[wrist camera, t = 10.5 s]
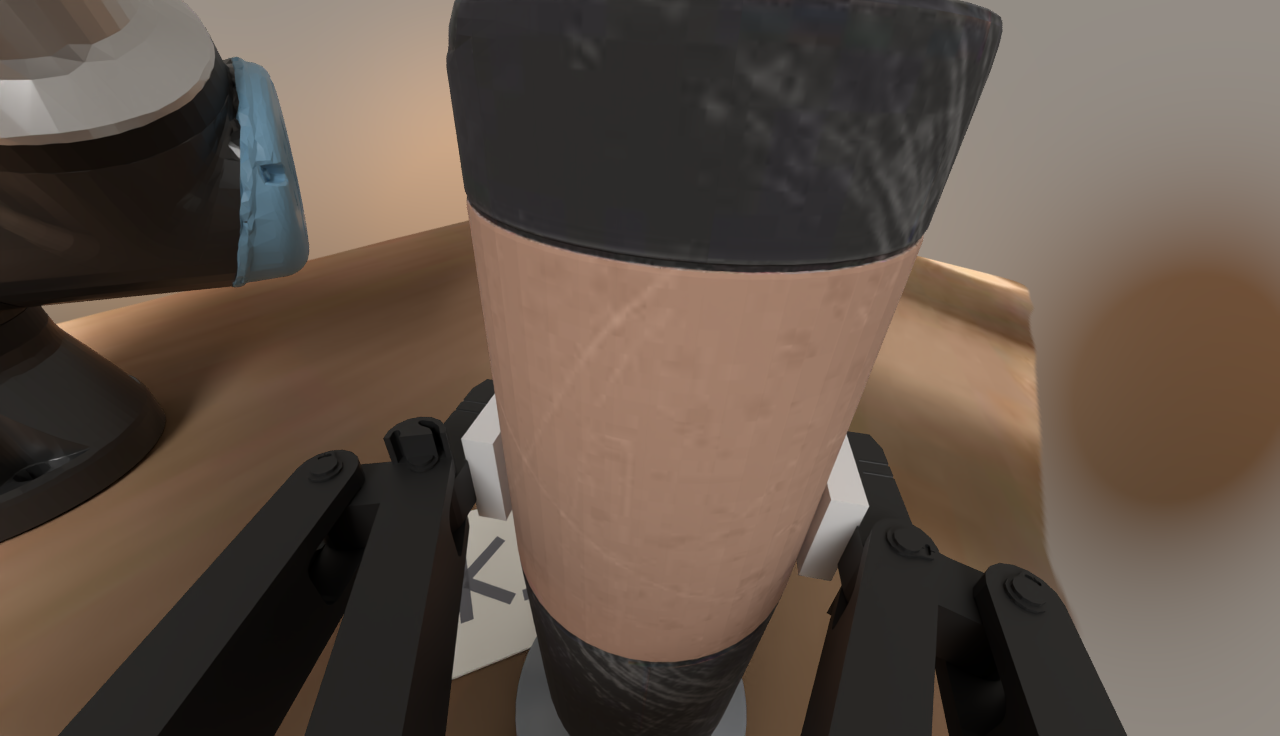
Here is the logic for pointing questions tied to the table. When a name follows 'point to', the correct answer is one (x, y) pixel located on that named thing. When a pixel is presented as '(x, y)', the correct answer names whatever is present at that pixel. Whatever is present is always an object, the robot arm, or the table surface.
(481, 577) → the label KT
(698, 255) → the travel mug
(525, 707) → the slate coaster
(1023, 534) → the table surface
